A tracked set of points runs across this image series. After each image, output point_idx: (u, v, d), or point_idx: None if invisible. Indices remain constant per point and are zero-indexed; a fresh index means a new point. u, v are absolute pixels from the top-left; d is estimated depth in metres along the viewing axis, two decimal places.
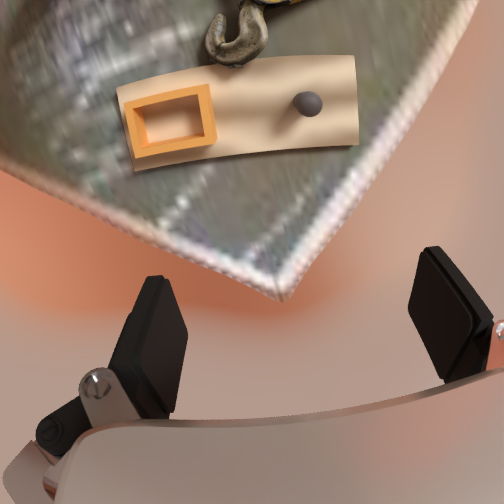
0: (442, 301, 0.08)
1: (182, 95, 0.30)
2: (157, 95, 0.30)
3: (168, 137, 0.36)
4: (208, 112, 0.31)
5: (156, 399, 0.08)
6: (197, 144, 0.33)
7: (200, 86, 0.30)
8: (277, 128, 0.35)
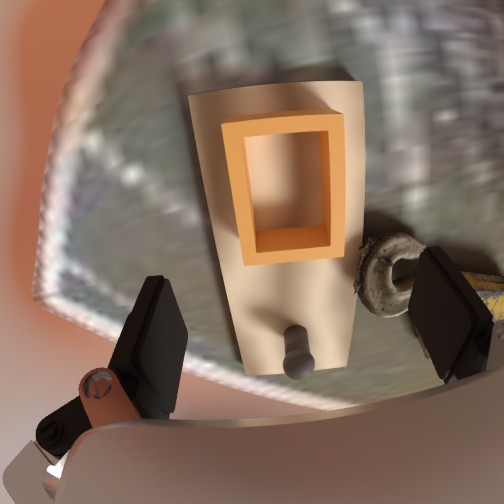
0: (442, 301, 0.08)
1: (333, 223, 0.20)
2: (342, 182, 0.18)
3: (251, 166, 0.21)
4: (297, 259, 0.21)
5: (156, 399, 0.08)
6: (243, 242, 0.21)
7: (341, 250, 0.21)
8: (260, 311, 0.28)
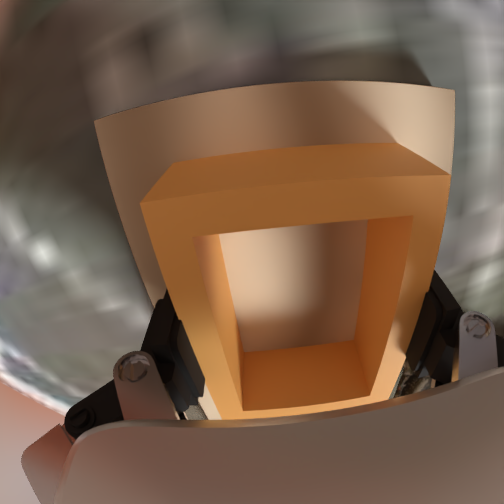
0: None
1: (381, 371, 0.10)
2: (417, 313, 0.08)
3: (230, 259, 0.11)
4: None
5: (188, 383, 0.08)
6: (218, 400, 0.11)
7: (385, 397, 0.11)
8: None
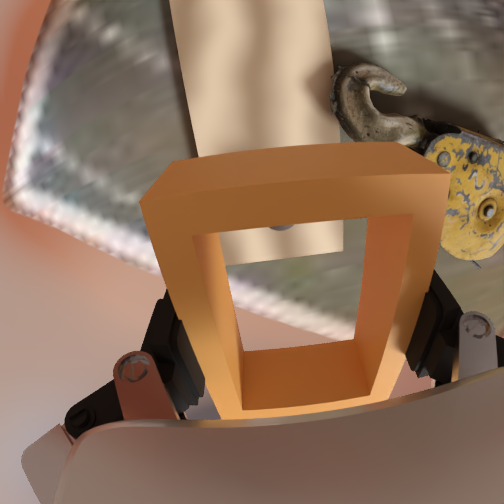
0: None
1: (381, 370, 0.10)
2: (417, 312, 0.08)
3: (216, 3, 0.17)
4: None
5: (188, 383, 0.08)
6: (218, 400, 0.11)
7: (385, 396, 0.11)
8: None
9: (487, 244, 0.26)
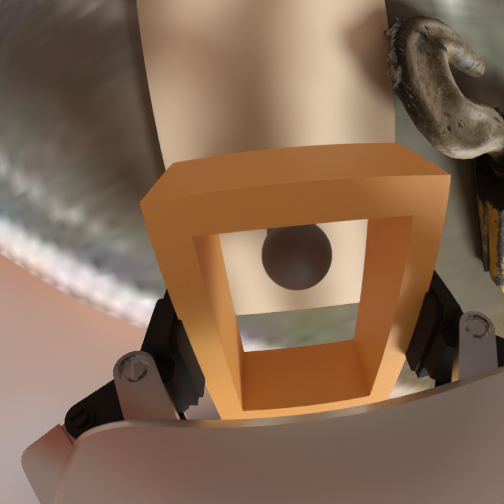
0: None
1: (381, 371, 0.10)
2: (416, 313, 0.08)
3: None
4: None
5: (188, 383, 0.08)
6: (218, 400, 0.11)
7: (385, 397, 0.11)
8: None
9: None
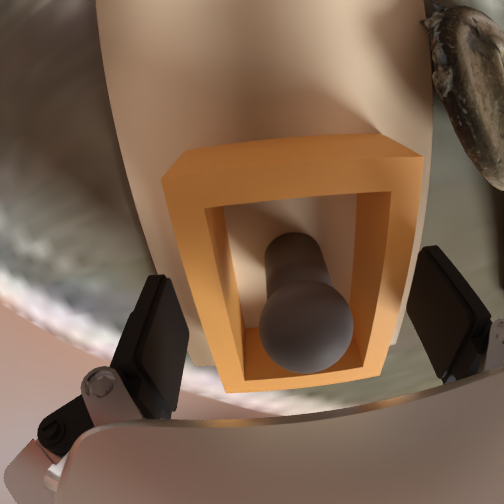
0: (440, 300, 0.08)
1: (372, 341, 0.11)
2: (401, 282, 0.09)
3: None
4: (309, 385, 0.13)
5: (158, 398, 0.08)
6: (222, 369, 0.12)
7: (378, 369, 0.12)
8: None
9: None
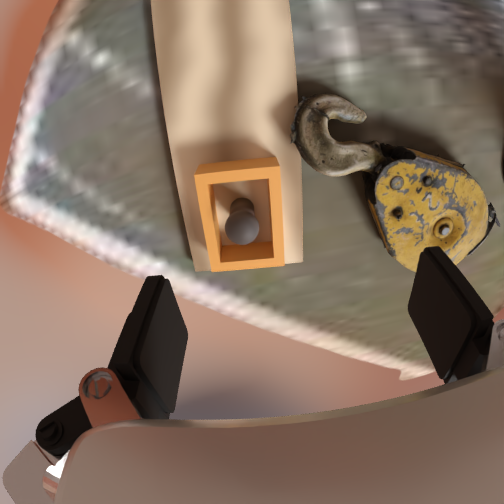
0: (442, 301, 0.08)
1: (274, 242, 0.28)
2: (280, 213, 0.27)
3: (195, 36, 0.21)
4: (250, 267, 0.30)
5: (156, 399, 0.08)
6: (210, 255, 0.29)
7: (282, 261, 0.30)
8: None
9: None
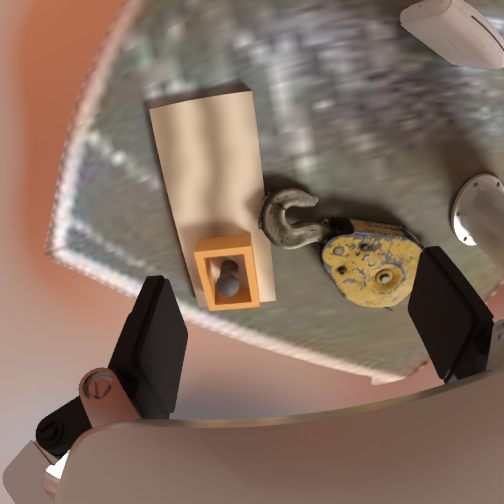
0: (442, 301, 0.08)
1: (251, 292, 0.41)
2: (253, 275, 0.40)
3: (187, 149, 0.34)
4: (235, 308, 0.43)
5: (156, 399, 0.08)
6: (208, 300, 0.42)
7: (257, 303, 0.42)
8: None
9: (387, 298, 0.43)
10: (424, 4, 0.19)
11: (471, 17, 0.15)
